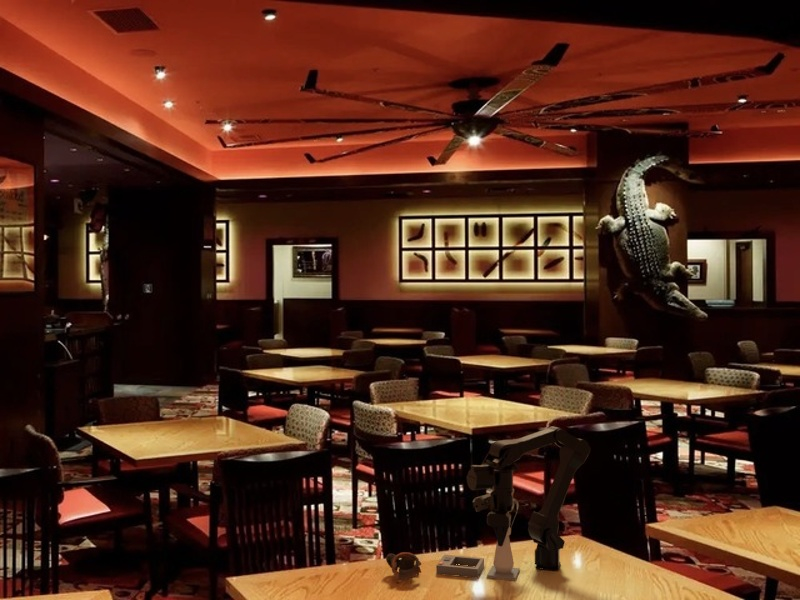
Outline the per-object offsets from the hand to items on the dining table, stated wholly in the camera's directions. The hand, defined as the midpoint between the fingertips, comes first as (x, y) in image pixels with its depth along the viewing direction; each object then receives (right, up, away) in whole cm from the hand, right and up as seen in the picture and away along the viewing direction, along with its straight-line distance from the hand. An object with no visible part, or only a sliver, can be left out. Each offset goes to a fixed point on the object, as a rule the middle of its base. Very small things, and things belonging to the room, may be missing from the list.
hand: (503, 541), depth 225 cm
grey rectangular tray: (-12, -10, +4) cm, 16 cm away
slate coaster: (0, -10, 0) cm, 10 cm away
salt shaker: (0, -9, 0) cm, 9 cm away
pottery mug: (-29, -10, -2) cm, 30 cm away
